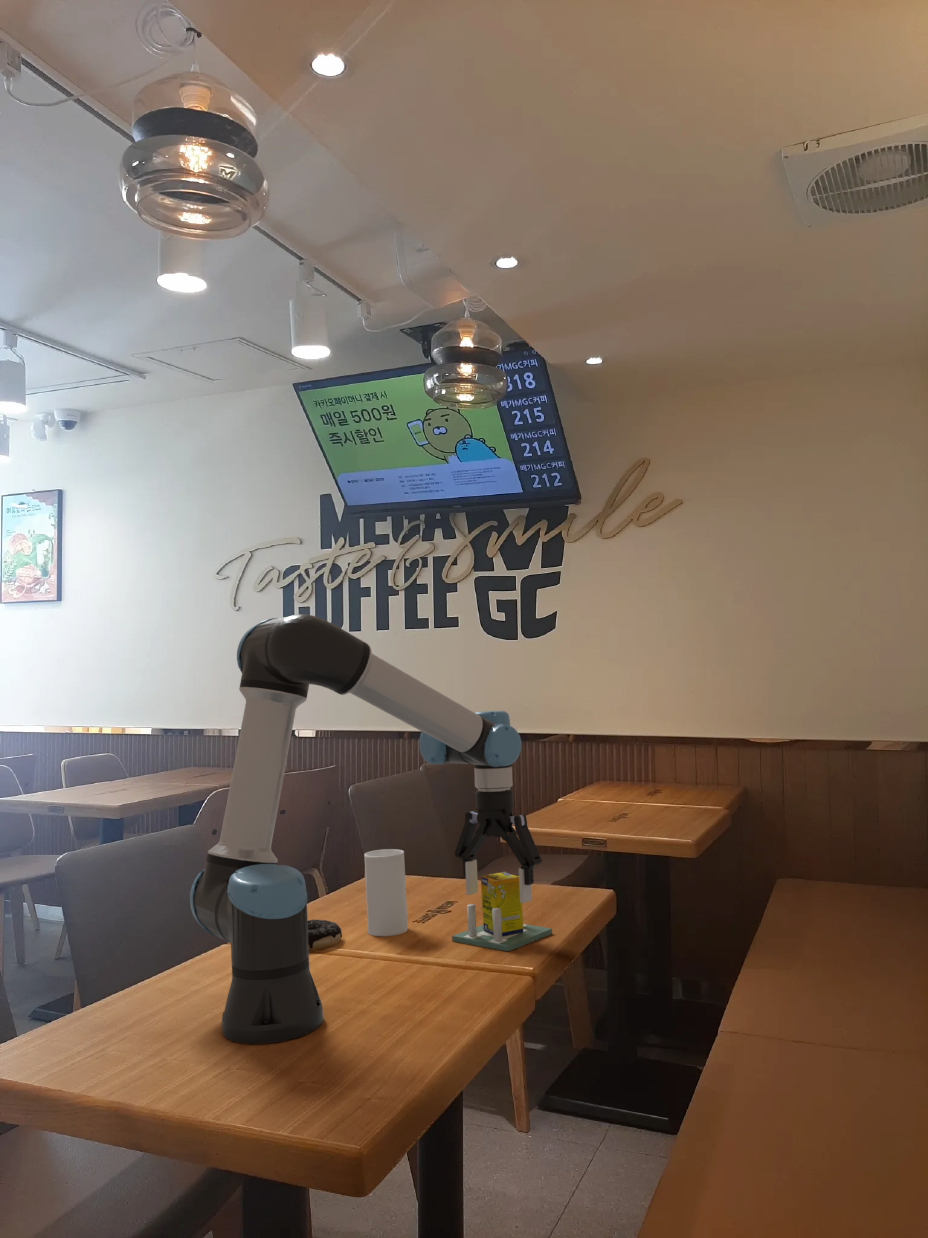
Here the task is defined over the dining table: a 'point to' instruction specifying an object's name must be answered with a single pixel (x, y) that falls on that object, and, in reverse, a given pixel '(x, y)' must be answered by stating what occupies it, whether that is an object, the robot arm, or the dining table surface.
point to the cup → (386, 892)
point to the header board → (507, 944)
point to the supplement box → (502, 902)
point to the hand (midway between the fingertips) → (498, 898)
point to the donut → (323, 934)
